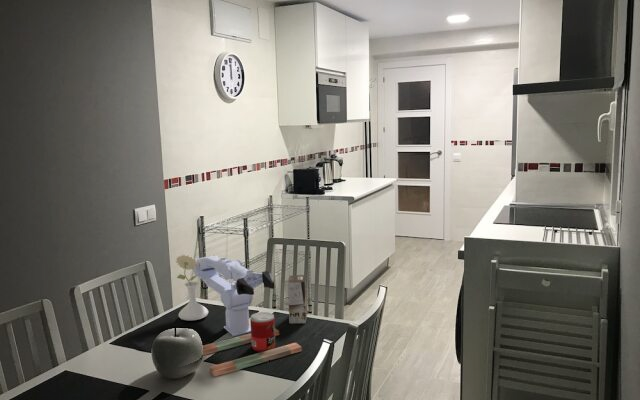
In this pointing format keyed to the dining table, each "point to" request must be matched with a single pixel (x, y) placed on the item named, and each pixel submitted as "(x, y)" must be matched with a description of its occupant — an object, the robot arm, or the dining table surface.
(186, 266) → the flower in vase
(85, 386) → the dining table surface
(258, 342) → the canned food
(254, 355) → the orange green bars
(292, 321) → the coffee box
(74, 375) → the dining table surface
